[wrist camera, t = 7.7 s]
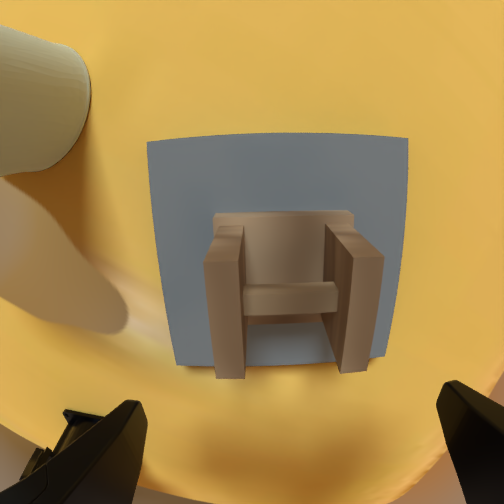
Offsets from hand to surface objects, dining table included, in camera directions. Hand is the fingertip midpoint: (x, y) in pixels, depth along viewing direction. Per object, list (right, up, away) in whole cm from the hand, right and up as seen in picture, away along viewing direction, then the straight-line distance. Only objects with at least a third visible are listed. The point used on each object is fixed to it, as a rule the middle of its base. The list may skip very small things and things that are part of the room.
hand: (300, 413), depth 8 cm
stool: (0, +4, +10) cm, 10 cm away
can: (-16, +14, +9) cm, 23 cm away
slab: (0, +4, +12) cm, 12 cm away
